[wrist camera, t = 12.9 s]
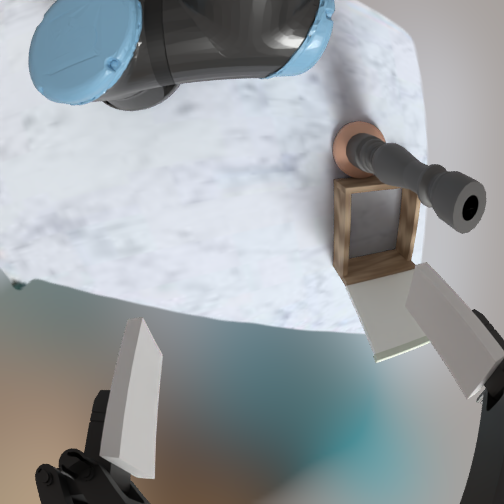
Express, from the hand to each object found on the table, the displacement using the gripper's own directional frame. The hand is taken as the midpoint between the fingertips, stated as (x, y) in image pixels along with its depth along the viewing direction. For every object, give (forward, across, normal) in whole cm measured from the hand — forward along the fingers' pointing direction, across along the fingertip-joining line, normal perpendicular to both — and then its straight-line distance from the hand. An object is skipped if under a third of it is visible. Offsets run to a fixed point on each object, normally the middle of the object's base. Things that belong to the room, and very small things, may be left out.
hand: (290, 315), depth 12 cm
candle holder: (+34, +21, -1) cm, 40 cm away
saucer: (+35, +21, -1) cm, 41 cm away
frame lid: (+28, +24, -26) cm, 45 cm away
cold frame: (+35, +24, -18) cm, 46 cm away
